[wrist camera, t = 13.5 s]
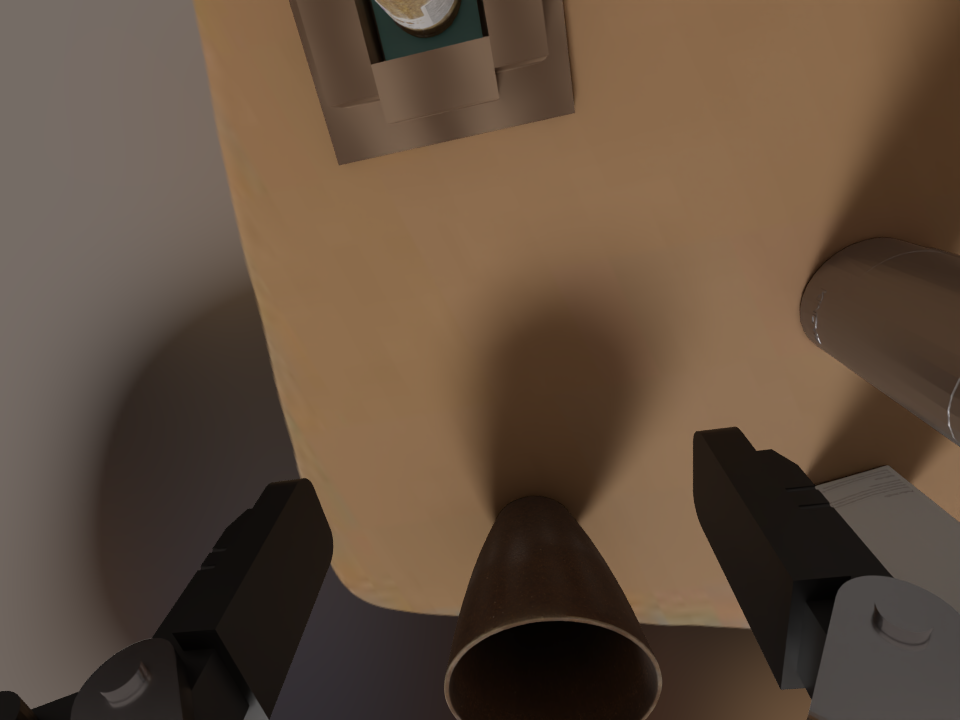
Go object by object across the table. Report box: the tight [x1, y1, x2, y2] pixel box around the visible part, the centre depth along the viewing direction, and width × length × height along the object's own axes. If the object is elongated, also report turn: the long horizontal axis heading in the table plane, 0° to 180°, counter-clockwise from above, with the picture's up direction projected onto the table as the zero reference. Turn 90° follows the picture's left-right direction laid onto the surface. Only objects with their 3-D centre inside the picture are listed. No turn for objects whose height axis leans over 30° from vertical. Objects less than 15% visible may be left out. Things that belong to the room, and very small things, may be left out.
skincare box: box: [815, 465, 960, 614], centre depth 40 cm, size 8×6×15 cm
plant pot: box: [444, 496, 662, 720], centre depth 42 cm, size 15×15×16 cm
